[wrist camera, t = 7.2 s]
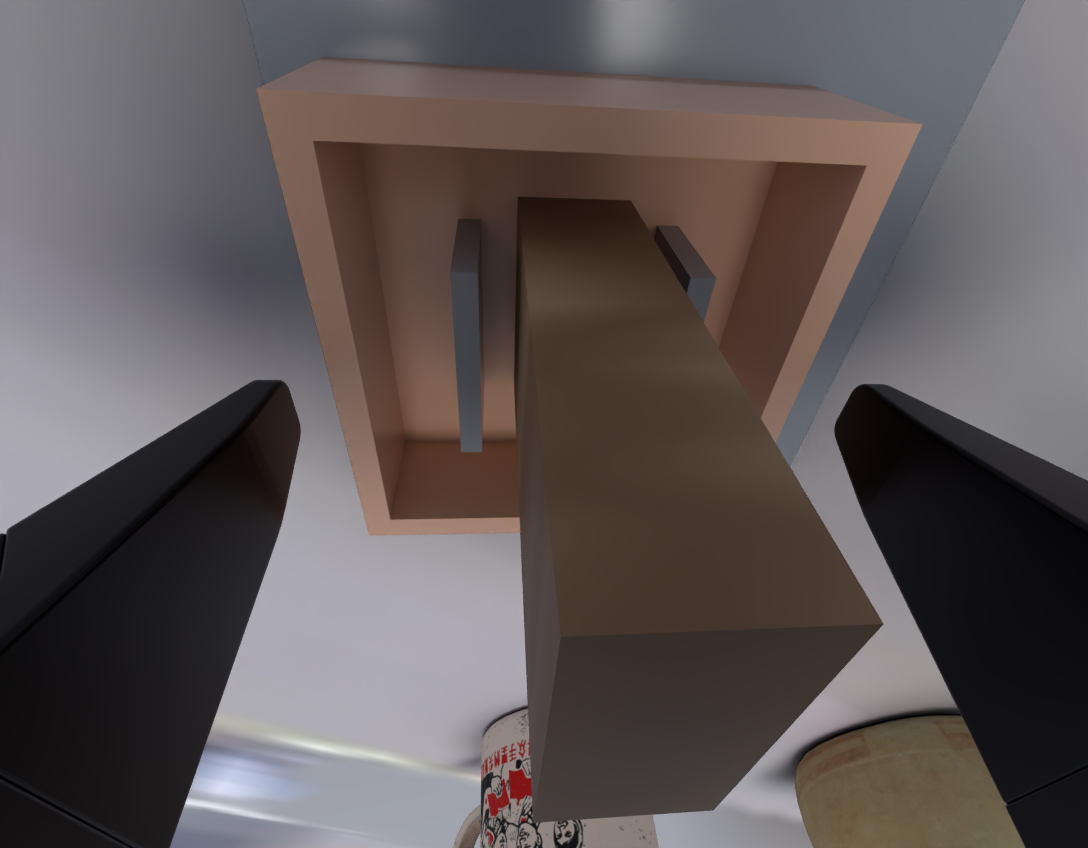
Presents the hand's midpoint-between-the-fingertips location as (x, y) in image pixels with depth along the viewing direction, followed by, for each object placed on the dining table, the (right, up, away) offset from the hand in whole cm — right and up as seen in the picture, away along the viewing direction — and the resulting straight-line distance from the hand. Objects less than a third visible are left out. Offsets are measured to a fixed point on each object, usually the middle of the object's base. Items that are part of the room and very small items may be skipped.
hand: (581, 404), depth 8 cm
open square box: (0, +2, +3) cm, 4 cm away
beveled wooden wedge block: (0, +2, +2) cm, 3 cm away
